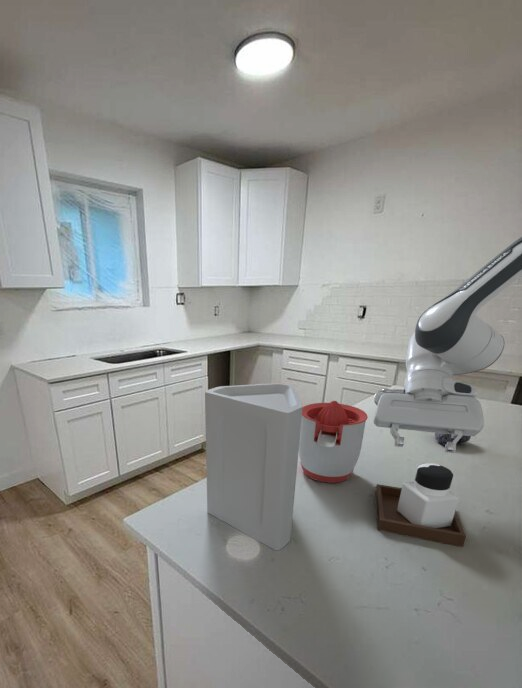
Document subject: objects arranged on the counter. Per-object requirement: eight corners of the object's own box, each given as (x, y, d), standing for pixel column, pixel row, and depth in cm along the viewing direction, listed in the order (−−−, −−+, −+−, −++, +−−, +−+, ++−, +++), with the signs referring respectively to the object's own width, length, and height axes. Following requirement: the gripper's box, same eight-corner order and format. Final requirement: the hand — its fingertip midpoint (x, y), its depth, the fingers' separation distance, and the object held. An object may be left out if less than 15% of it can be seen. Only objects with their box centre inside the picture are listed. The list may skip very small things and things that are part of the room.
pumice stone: (458, 458, 105) (474, 441, 109) (462, 437, 101) (479, 420, 105) (421, 445, 113) (438, 430, 117) (423, 425, 109) (440, 410, 113)
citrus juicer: (287, 484, 91) (293, 409, 83) (301, 455, 105) (307, 389, 97) (354, 497, 84) (368, 417, 77) (359, 464, 99) (370, 394, 91)
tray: (446, 505, 81) (449, 495, 80) (463, 547, 68) (466, 536, 67) (374, 493, 86) (376, 484, 85) (377, 530, 73) (380, 519, 72)
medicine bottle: (451, 527, 73) (467, 475, 68) (419, 531, 72) (433, 479, 67) (425, 506, 79) (438, 458, 75) (395, 510, 78) (406, 461, 74)
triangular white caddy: (316, 517, 78) (331, 392, 67) (278, 551, 69) (288, 413, 58) (246, 485, 91) (249, 376, 80) (205, 511, 81) (202, 391, 70)
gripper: (377, 381, 82) (372, 437, 77) (486, 387, 75) (487, 450, 70) (373, 394, 87) (368, 447, 83) (474, 402, 80) (475, 460, 76)
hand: (424, 448), depth 77 cm, fingers open, 8 cm apart
